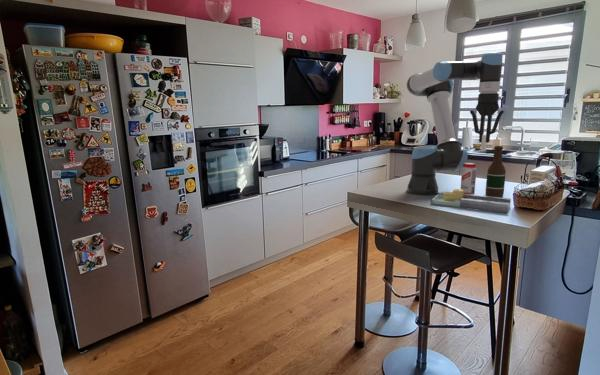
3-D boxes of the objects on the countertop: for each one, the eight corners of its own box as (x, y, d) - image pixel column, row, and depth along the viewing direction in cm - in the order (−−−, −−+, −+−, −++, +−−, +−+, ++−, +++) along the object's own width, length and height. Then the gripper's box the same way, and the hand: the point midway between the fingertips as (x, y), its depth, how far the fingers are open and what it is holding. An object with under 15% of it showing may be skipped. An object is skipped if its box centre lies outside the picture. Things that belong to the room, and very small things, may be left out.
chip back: (453, 202, 160) (443, 202, 163) (455, 200, 164) (445, 200, 166) (453, 194, 160) (443, 193, 162) (455, 192, 163) (445, 191, 165)
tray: (430, 204, 162) (431, 199, 162) (437, 198, 171) (437, 194, 171) (459, 207, 155) (459, 203, 155) (464, 201, 165) (465, 197, 164)
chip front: (452, 199, 160) (452, 190, 159) (454, 197, 163) (454, 189, 162) (462, 200, 157) (462, 191, 157) (464, 198, 161) (464, 189, 160)
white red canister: (468, 198, 170) (470, 164, 166) (457, 195, 175) (459, 163, 172) (477, 196, 173) (479, 163, 169) (465, 193, 178) (468, 161, 175)
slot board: (459, 207, 156) (460, 199, 155) (464, 201, 164) (465, 193, 164) (507, 213, 146) (508, 204, 145) (510, 206, 154) (510, 198, 154)
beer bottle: (481, 194, 176) (485, 145, 170) (496, 194, 176) (501, 144, 171) (491, 198, 168) (495, 147, 163) (507, 198, 169) (512, 146, 163)
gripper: (469, 93, 148) (464, 150, 154) (505, 92, 141) (499, 152, 147) (473, 93, 154) (468, 148, 160) (508, 92, 147) (501, 149, 153)
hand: (483, 150), depth 153 cm, fingers closed
